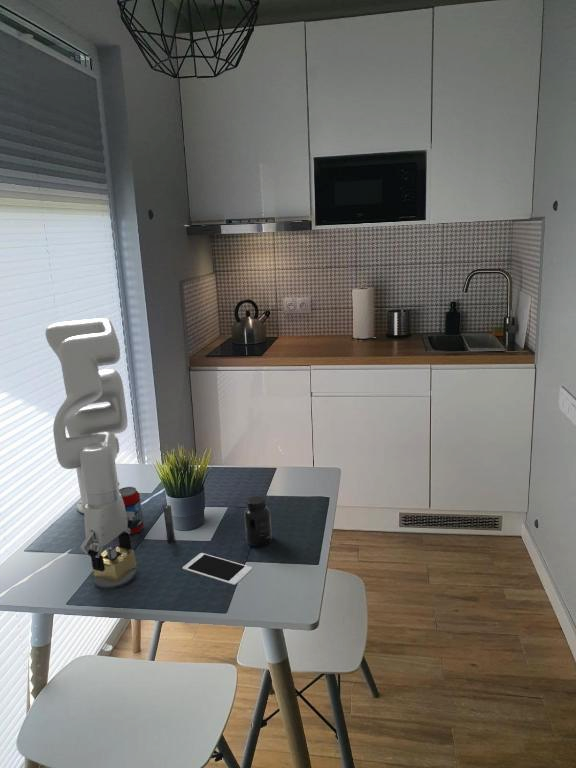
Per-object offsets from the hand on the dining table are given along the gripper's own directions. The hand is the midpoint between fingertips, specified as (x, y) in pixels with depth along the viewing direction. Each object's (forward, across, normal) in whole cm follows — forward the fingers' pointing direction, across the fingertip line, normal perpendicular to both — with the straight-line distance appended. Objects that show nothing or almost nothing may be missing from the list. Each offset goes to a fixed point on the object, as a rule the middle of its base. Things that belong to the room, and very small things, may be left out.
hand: (112, 558), depth 143 cm
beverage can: (+6, -20, -11) cm, 23 cm away
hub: (+5, 0, 0) cm, 5 cm away
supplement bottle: (+5, -26, +26) cm, 37 cm away
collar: (+3, 0, 0) cm, 3 cm away
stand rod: (+5, -19, +3) cm, 20 cm away
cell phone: (+5, -11, +22) cm, 25 cm away
